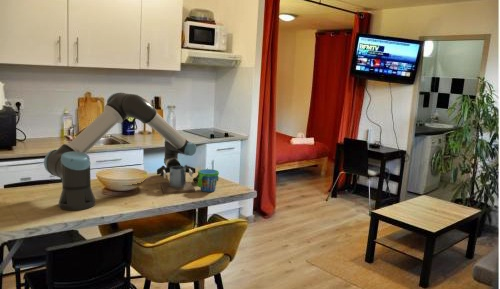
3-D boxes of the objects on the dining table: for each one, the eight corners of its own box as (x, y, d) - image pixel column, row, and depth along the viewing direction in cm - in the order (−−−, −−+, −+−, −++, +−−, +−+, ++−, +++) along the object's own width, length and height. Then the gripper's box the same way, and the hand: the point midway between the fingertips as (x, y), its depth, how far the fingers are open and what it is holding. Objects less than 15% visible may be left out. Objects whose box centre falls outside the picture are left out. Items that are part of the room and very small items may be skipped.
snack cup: (210, 185, 224) (210, 167, 223) (225, 189, 218) (225, 170, 217) (190, 191, 212) (190, 172, 210) (205, 195, 206) (205, 175, 204)
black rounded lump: (192, 178, 235) (201, 163, 234) (207, 186, 237) (215, 171, 235) (191, 182, 225) (200, 167, 224) (205, 190, 226) (215, 175, 225)
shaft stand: (163, 193, 206) (163, 181, 205) (160, 185, 221) (160, 173, 220) (195, 192, 211) (195, 180, 210) (190, 183, 226) (190, 172, 225)
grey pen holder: (170, 188, 211) (170, 169, 209) (168, 184, 219) (168, 166, 217) (186, 188, 214) (186, 169, 212) (184, 183, 221) (184, 165, 219)
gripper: (195, 171, 236) (202, 180, 216) (150, 172, 229) (153, 183, 209) (195, 158, 235) (202, 166, 215) (150, 159, 227) (153, 168, 207)
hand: (178, 174), depth 212 cm, fingers open, 13 cm apart
